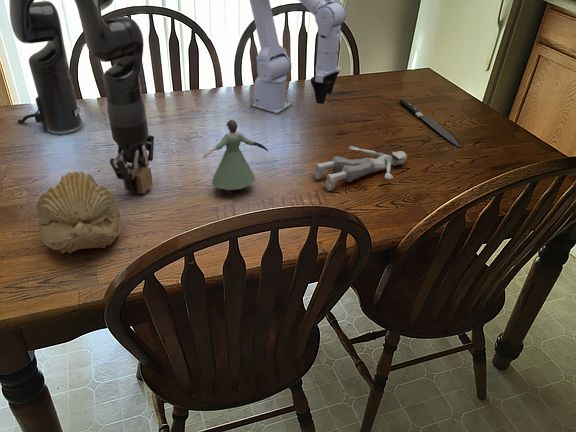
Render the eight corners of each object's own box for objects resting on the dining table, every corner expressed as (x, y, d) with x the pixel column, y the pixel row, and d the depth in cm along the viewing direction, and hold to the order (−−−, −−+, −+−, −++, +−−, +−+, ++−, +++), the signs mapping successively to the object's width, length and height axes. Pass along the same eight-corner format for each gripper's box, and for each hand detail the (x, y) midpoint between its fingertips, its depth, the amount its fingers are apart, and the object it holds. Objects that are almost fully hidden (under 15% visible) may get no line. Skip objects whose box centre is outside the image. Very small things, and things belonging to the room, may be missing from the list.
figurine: (340, 203, 116) (425, 179, 125) (342, 185, 112) (429, 162, 122) (304, 167, 128) (384, 148, 138) (305, 150, 125) (387, 131, 134)
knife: (466, 148, 141) (467, 144, 140) (454, 149, 140) (456, 144, 139) (407, 101, 165) (409, 97, 164) (397, 101, 163) (398, 97, 163)
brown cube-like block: (124, 189, 115) (121, 172, 112) (135, 180, 118) (132, 163, 116) (143, 194, 114) (140, 176, 111) (153, 184, 117) (150, 167, 114)
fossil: (46, 277, 92) (24, 211, 83) (42, 224, 105) (23, 162, 96) (130, 258, 97) (117, 194, 89) (117, 209, 110) (105, 149, 101)
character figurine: (262, 174, 124) (263, 106, 114) (275, 191, 118) (277, 121, 108) (200, 186, 119) (194, 116, 108) (210, 205, 113) (205, 133, 102)
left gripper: (123, 135, 99) (135, 205, 109) (161, 108, 110) (168, 174, 120) (91, 128, 101) (106, 198, 111) (131, 102, 112) (141, 167, 122)
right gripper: (335, 61, 129) (330, 110, 137) (348, 45, 140) (343, 91, 148) (309, 57, 130) (306, 105, 138) (324, 41, 142) (320, 87, 150)
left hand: (138, 185), depth 116 cm, fingers closed on brown cube-like block, 4 cm apart
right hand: (323, 98), depth 143 cm, fingers open, 7 cm apart
